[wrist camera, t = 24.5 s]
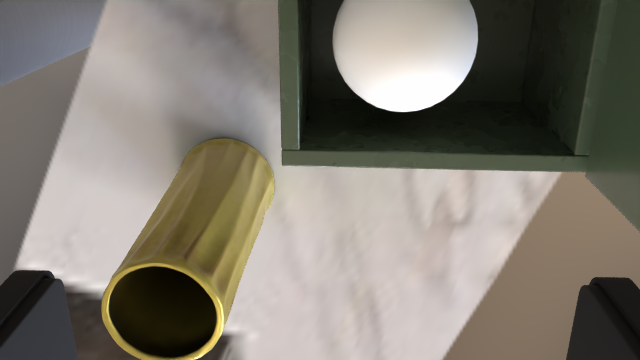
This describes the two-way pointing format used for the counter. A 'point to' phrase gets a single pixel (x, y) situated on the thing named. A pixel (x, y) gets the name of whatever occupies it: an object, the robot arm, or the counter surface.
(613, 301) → the robot arm
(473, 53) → the lightbulb
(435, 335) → the counter surface
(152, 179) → the counter surface
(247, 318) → the counter surface
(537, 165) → the bin
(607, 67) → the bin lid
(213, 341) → the vase
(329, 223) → the counter surface
